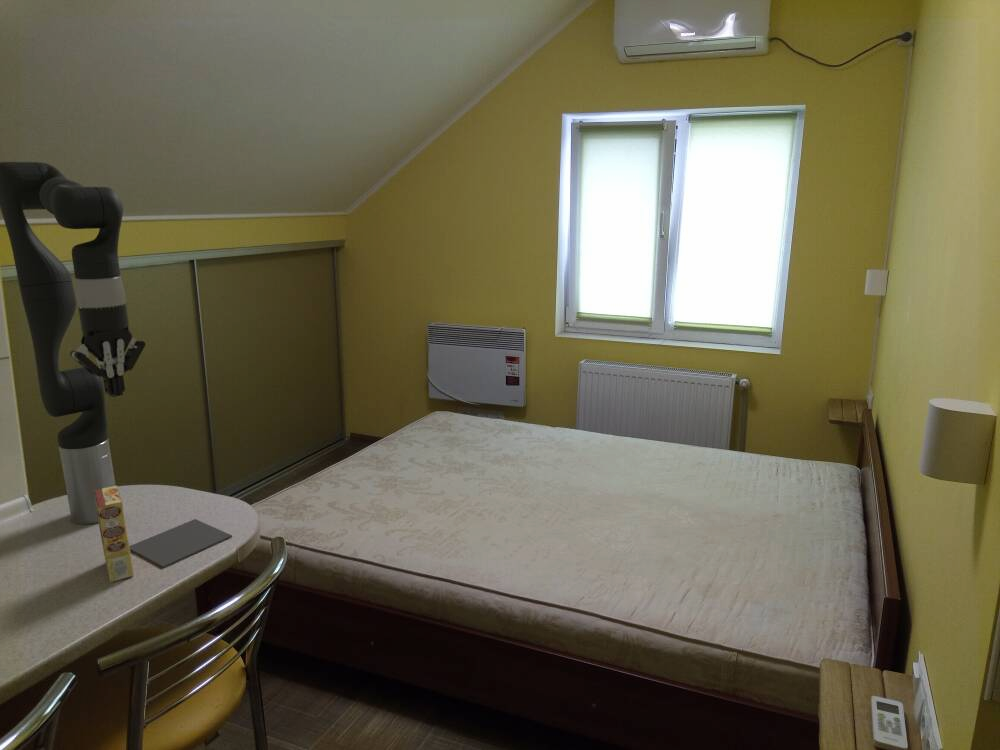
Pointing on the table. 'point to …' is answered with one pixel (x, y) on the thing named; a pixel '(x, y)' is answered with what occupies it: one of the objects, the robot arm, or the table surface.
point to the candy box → (113, 533)
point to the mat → (179, 543)
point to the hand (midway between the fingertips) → (115, 395)
